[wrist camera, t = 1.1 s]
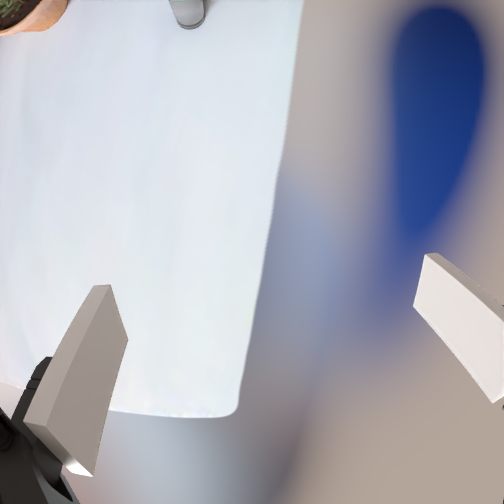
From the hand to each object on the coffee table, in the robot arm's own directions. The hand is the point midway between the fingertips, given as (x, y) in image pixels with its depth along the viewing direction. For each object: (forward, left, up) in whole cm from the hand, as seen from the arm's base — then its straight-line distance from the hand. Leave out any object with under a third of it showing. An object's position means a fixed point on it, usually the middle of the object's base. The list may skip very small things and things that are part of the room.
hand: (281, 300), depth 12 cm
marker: (-15, +12, -22) cm, 29 cm away
